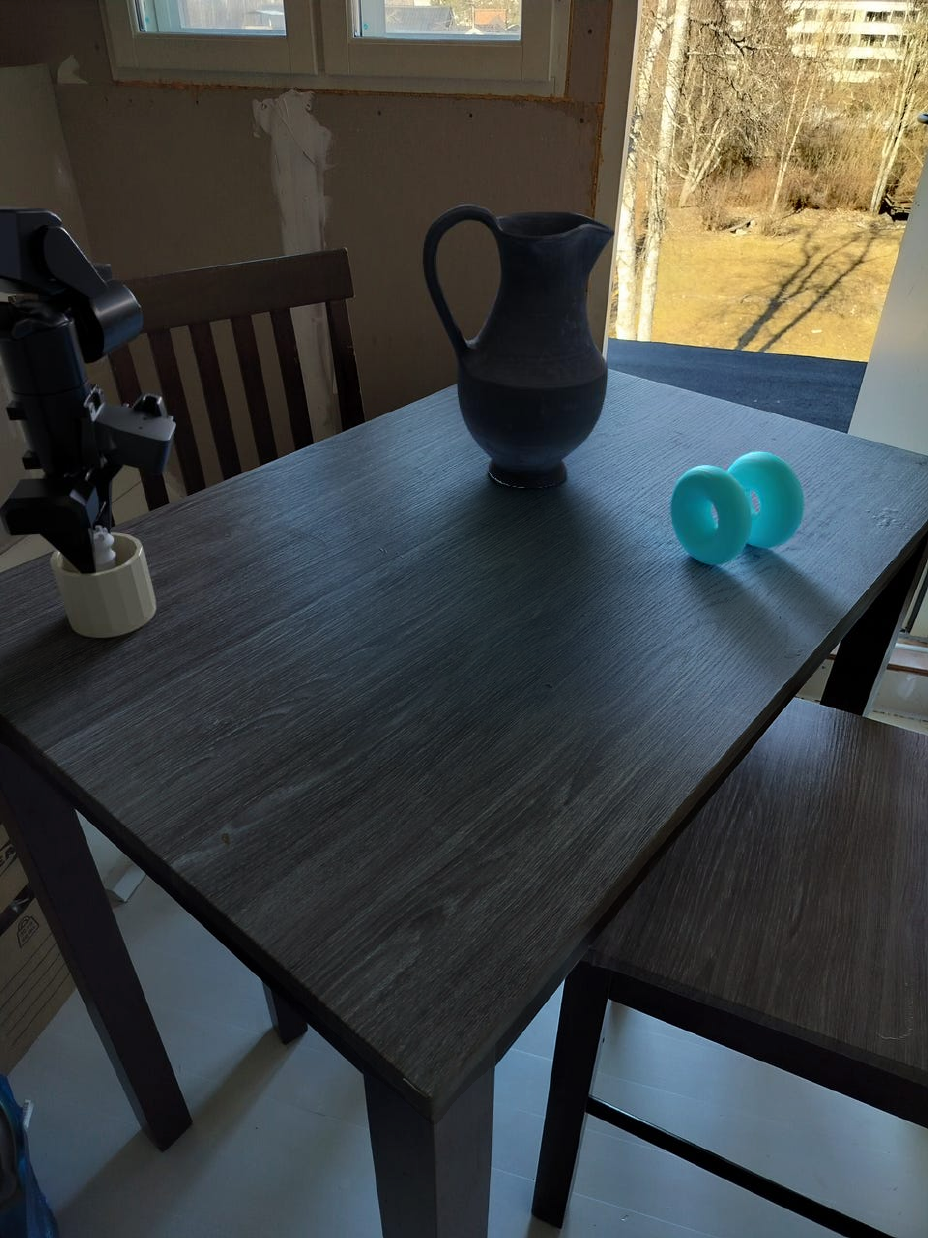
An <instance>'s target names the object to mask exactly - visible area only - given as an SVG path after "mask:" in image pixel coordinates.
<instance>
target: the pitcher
mask: <svg viewBox="0 0 928 1238" xmlns="http://www.w3.org/2000/svg"><path fill="white" fill-rule="evenodd" d="M465 221H472V222H473V221H474V222H480V223H481V224H483V225H485V226H486V227H487V228H488V229H489V230H490V231H491V233H492V236H493V237H494V239H495V240H494V241H495V242H496V246H497V247H496V248H497V252H498V258H499V267H500V275H499V276H500V278H499V283H498V288H497V291H496V295H495V297H494V300H493V302H492V305H491V308H490V311H489V313H488V315H487V317H486V320H485V321H484V323H483V325H482V327H481V329H480V331H479V332H478V334H477V335H476V336H475V337H474V338H473V339H471V340H467V339H466V338H465V336H464V334H463V332H462V330H461V329H460V326H459V324H458V322H457V320H456V318H455V316H454V313H453V311H452V308H451V307H450V305H449V303H448V300H447V298H446V295H445V292H444V290H443V288H442V285H441V283H440V279H439V274H438V269H437V252H438V249H439V244H440V243H441V240H442V238H443V236H444V235H445V234H446V233H447V232H448V231H449V230H450V229H452V228H454V227H455V226H456V225H458V224H460V223H462V222H465ZM613 236H615V229H614V228H613V227H611V226H610V225H608V224H606V223H604V222H602V221H599V220H597V219H594V218H592V217H589V216H586V215H585V214H584V215H583V214H580V213H576V212H570V211H527V212H518V213H517V212H515V213H509V214H503V215H499V216H495V214H494V213H493V212H491V211H490V209H489V208H487V207H484V206H481V205H476V204H462V205H458V206H455V207H452V208H450V209H448V210H446V211H444V212H443V213H441V215H439V216H438V217H437V218H436V219H435V220H434V221H433V222H432V223H431V225H430V226H429V228H428V230H427V232H426V234H425V238H424V242H423V249H422V269H423V275H424V279H425V283H426V287H427V289H428V292H429V296H430V299H431V301H432V303H433V306H434V308H435V310H436V313H437V315H438V317H439V320H440V323H441V324H442V326H443V329H444V331H445V332H446V336H447V337H448V339H449V341H450V344H451V346H452V349H453V351H454V354H455V358H456V363H457V375H456V377H457V379H456V385H457V387H456V388H457V399H458V403H459V409H460V413H461V416H462V419H463V422H464V425H465V426H466V428H467V430H468V432H469V434H470V436H471V437H472V439H473V440H474V442H475V443H476V444H477V445H478V446H479V447H480V448H481V449H482V450H483V451H484V452H485V453H486V455H487V456H488V457H489V458H491V460H490V462H489V463H488V466H489V472H490V473H491V474H492V476H493V477H494V478H496V479H497V480H499V481H501V482H502V483H505V484H508V485H510V486H516V487H524V488H540V487H541V489H543V488H542V487H546V486H550V485H553V484H556V483H558V482H559V483H561V482H562V481H563V480H564V479H565V478H566V477H567V475H568V468H567V466H566V464H565V461H564V459H565V458H566V457H568V456H569V455H570V454H572V453H573V452H575V450H577V449H578V448H579V447H580V446H581V445H582V444H584V442H585V441H587V439H588V438H589V437H590V435H591V434H592V432H593V430H594V429H595V427H596V425H597V423H598V422H599V419H600V416H602V412H603V409H604V404H605V399H606V396H607V389H608V379H609V366H608V363H607V360H606V359H605V357H604V356H603V354H602V352H601V351H600V349H599V348H598V347H597V344H596V342H595V340H594V337H593V334H592V331H591V326H590V322H589V318H588V317H589V316H588V311H587V297H586V295H587V294H586V289H587V288H586V287H587V283H588V280H589V278H590V274H591V272H592V270H593V268H595V267H594V266H595V265H596V263H597V261H598V260H599V258H600V256H601V254H602V253H603V251H604V249H605V248H606V247H607V245H608V244H609V242H610V240H611V239H612V238H613ZM566 474H567V475H566ZM561 480H562V481H561ZM560 481H561V482H560ZM559 483H558V484H559ZM556 485H557V484H556ZM553 486H554V485H553ZM550 487H551V486H550ZM546 488H547V487H546Z"/></svg>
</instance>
